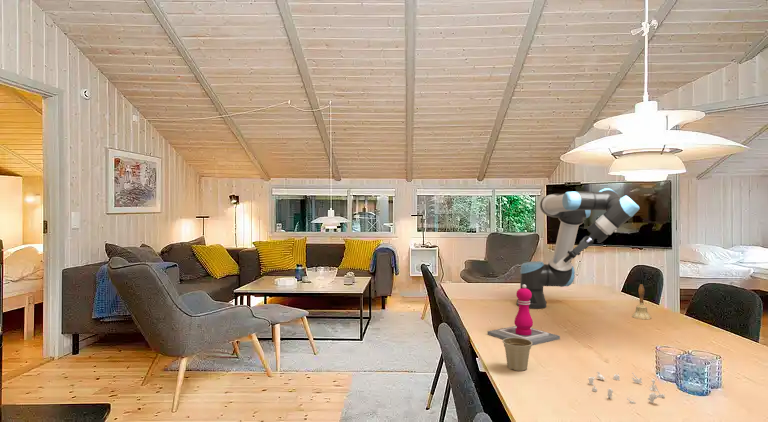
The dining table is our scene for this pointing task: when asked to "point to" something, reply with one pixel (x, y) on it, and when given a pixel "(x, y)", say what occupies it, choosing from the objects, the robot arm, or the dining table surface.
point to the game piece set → (616, 377)
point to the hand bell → (641, 306)
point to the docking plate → (535, 337)
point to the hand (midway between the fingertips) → (560, 264)
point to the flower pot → (517, 353)
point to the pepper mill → (523, 312)
